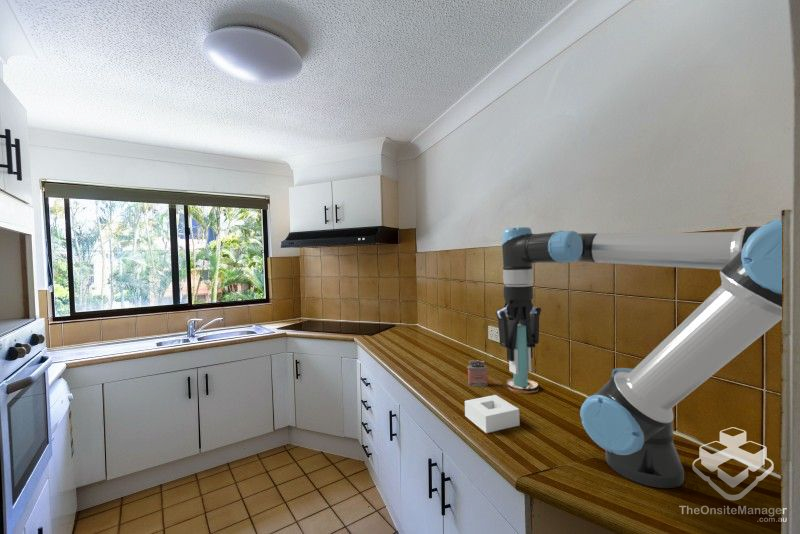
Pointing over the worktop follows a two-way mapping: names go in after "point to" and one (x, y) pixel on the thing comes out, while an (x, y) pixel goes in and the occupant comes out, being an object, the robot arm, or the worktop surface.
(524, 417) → the worktop surface
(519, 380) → the peg
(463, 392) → the worktop surface
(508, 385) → the round flat dish
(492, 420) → the socket block
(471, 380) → the lighter
